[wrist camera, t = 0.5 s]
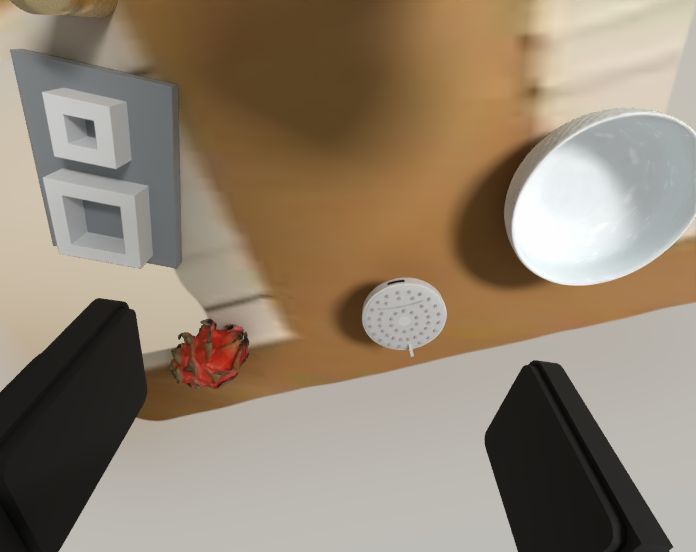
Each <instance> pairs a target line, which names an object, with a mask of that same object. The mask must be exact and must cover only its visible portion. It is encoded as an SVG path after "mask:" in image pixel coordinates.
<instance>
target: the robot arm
mask: <svg viewBox="0 0 696 552" xmlns="http://www.w3.org/2000/svg"><path fill="white" fill-rule="evenodd" d="M146 395H147V384H146V378H145V371H144V365H143V358H142V352H141V346H140V339H139V332H138V326H137V319H136V313H135V311H134V310H132V309H129V307H128V305H127V303H126V302H122V301H115V300H108V299H101V298H98V299H95V300H94V301H93V302H92V303H91V304H90V305H89V306H88V307H87V308H86V309H85V310H84V311H83V312H82V313H81V314H80V315H79V316H78V317H77V318H76V319H75V320H74V321H73V322H72V323H71V324H70V325H69V326H68V327H67V328H66V329H65V330H64V331H63V332H62V333H61V334H60V335H59V336H58V337H57V338H56V339H55V340H54V341H53V342H52V343H51V344H50V345H49V346H48V347H47V348H46V349H45V350H44V351H43V352H42V353H41V354H39V355H38V356H37V357H35V358H34V359H33V360H32V361H31V362H30V363H29V364H28V365H27V366H26V367H25V368H24V369H23V370H22V371H21V372H20V373H19V374H18V375H17V376H16V377H15V378H14V379H13V380H12V381H11V382H10V383H9V384H8V385H7V386H6V387H5V388H4V389H3V390H2V391H1V392H0V552H58V551H59V550H60V548H61V547H62V545H63V543H64V541H65V540H66V538H67V536H68V535H69V533H70V531H71V529H72V528H73V526H74V524H75V522H76V521H77V519H78V517H79V515H80V514H81V512H82V510H83V508H84V506H85V505H86V503H87V502H88V500H89V498H90V496H91V494H92V493H93V491H94V489H95V488H96V486H97V484H98V482H99V481H100V479H101V477H102V475H103V474H104V472H105V470H106V468H107V467H108V465H109V463H110V461H111V460H112V458H113V456H114V455H115V453H116V451H117V449H118V448H119V446H120V444H121V442H122V440H123V439H124V437H125V435H126V434H127V432H128V430H129V428H130V427H131V425H132V423H133V422H134V419H135V418H136V416H137V415H138V413H139V411H140V409H141V408H142V406H143V404H144V402H145V399H146ZM485 447H486V450H487V454H488V457H489V460H490V463H491V466H492V470H493V473H494V476H495V479H496V482H497V486H498V489H499V492H500V495H501V498H502V502H503V505H504V508H505V511H506V514H507V518H508V521H509V524H510V527H511V531H512V534H513V537H514V540H515V543H516V546H517V550H518V552H669V550H670V549H671V548H673V546H672V544H671V543H670V541H669V539H668V538H667V536H666V534H665V533H664V532H663V530H662V528H661V526H660V525H659V523H658V522H657V520H656V518H655V517H654V515H653V514H652V512H651V510H650V508H649V507H648V505H647V504H646V502H645V500H644V499H643V497H642V496H641V494H640V492H639V491H638V489H637V487H636V486H635V484H634V483H633V481H632V479H631V478H630V476H629V474H628V473H627V471H626V470H625V468H624V466H623V465H622V463H621V462H620V460H619V458H618V457H617V455H616V453H615V452H614V450H613V449H612V447H611V445H610V444H609V442H608V440H607V439H606V437H605V436H604V434H603V432H602V431H601V429H600V427H599V426H598V424H597V423H596V421H595V420H594V418H593V416H592V415H591V413H590V411H589V410H588V408H587V406H586V405H585V403H584V402H583V400H582V398H581V397H580V395H579V394H578V392H577V390H576V389H575V387H574V385H573V384H572V382H571V380H570V379H569V377H568V376H567V374H566V372H565V371H564V369H563V368H562V367H561V365H559V364H557V363H550V362H543V361H532V362H530V364H529V365H525V366H523V368H522V369H521V371H520V373H519V374H518V376H517V378H516V380H515V382H514V383H513V385H512V387H511V389H510V390H509V392H508V394H507V396H506V398H505V399H504V401H503V403H502V405H501V406H500V408H499V410H498V412H497V413H496V415H495V417H494V419H493V421H492V422H491V424H490V426H489V428H488V430H487V431H486V434H485Z"/></svg>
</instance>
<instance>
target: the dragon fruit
mask: <svg viewBox="0 0 696 552" xmlns="http://www.w3.org/2000/svg"><path fill="white" fill-rule="evenodd" d="M201 323H202V324H203V325H202V326H201V328H200V329H199V333H198V335H197V336H196V337H195V336H192V335H191V334H190V333H186V332H185V333H181V334H180V335H179V336H178V339H180V338H181V336H182V337H183V338H184V341H185V343H182V344H179V345H178V346H177V348H175V349H173V350H172V351H171V352H172V355H173V357H174V358H175V359H173V360H172V361H171V367H170V369H171V372H172V374H171V376H173V375H174V378H175V379H176V380H178V382H177V383H178V384H183V385H184V384H187V385H188V386H189V387H191V388H194V387H196V389H200V388H201V387H202V386H210V387H212V388H213V389H218V388H220V387H222V386H223V385H224V384H226V383H227V382H229V381H230V380H232V379H234V378H235V377H236V376H237V375H238V372H239V369H240V368H241V367H242V365H243V364H244V362H245V361H246V358H247V357H248V355H249V353H248V354H247V348H248V345H249V340H248V338H247V333H246V332H245V333H244V332H243V331H244V330H243V328H242V327H239V326H235V325H227V326H226V327H228V328H227V329H231V330H228V331H217V330H216V324H215V323H216V322H214V321H213V320H211V319H206V320H203V321H201ZM232 328H233V329H232ZM244 334H245V335H244ZM243 336H244V340H243V339H242V338H243ZM244 358H245V359H244Z"/></svg>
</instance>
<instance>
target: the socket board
mask: <svg viewBox="0 0 696 552" xmlns="http://www.w3.org/2000/svg"><path fill="white" fill-rule="evenodd" d="M10 52H11V56H12V61H13V65H14V70H15V74H16V79H17V83H18V87H19V92H20V97H21V102H22V106H23V111H24V115H25V120H26V124H27V129H28V133H29V138H30V142H31V147H32V151H33V156H34V160H35V165H36V169H37V174H38V179H39V183H40V188H41V192H42V197H43V201H44V206H45V210H46V215H47V219H48V224H49V228H50V233H51V237H52V242H53V245H54V246H57V247H58V251H59V254H63V255H68V256H74V257H79V258H85V259H91V260H96V261H101V262H106V263H112V264H117V265H123V266H128V267H134V268H140V269H141V268H142V267H143V266H144V265H145V263H150V264H156V265H161V266H166V267H172V268H178V266H179V265H180V264H181V262H182V255H181V205H180V156H179V107H178V85H177V84H173V83H169V82H164V81H160V80H155V79H151V78H147V77H142V76H138V75H134V74H129V73H125V72H121V71H116V70H112V69H107V68H103V67H99V66H94V65H90V64H86V63H81V62H77V61H73V60H68V59H64V58H60V57H55V56H51V55H46V54H42V53H38V52H33V51H29V50H25V49H14V50H10Z"/></svg>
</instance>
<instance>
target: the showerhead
mask: <svg viewBox="0 0 696 552" xmlns="http://www.w3.org/2000/svg"><path fill="white" fill-rule="evenodd" d="M446 317H447V312H446V307H445V304H444V302H443V299H442V297H441V295H440V293H439V292H438V291H437V290H436V289H435V288H434V287H433V286H432V285H430V284H429V283H427V282H425V281H422V280H419V279H415V278H397V279H392V280H389V281H386V282H384V283H382V284H380V285H379V286H377V287H376V288H375V289H373V290H372V291H371V292H370V294H369V295H368V296H367V298H366V300H365V302H364V305H363V310H362V323H363V327H364V329H365V331H366V333H367V334H368V336H369V337H370V338H371V339H372V340H373V341H375V342H376V343H378V344H379V345H382V346H384V347H387V348H391V349H398V350H407V349H410V354H411V357H414V354H413V350H412V349H413V348H417V347H420V346H423V345H425V344H427V343H429V342H430V341H432V340H433V339H434V338H435V337H436V336H437V335H438V334H439V333H440V332H441V331H442V329H443V327H444V325H445V322H446Z"/></svg>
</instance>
